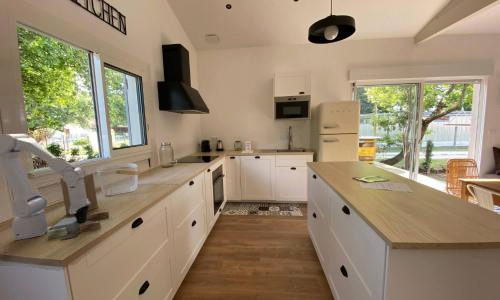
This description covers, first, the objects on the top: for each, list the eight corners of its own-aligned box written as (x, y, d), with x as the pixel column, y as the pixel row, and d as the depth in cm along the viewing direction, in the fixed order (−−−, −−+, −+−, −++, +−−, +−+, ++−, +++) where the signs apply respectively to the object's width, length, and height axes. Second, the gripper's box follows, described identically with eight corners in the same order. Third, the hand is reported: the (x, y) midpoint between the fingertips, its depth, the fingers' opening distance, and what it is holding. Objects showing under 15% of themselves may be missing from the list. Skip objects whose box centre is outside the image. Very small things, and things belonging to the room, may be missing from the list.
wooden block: (80, 214, 105) (74, 178, 103) (65, 214, 107) (59, 178, 105) (98, 207, 115) (93, 173, 113) (84, 206, 117) (79, 173, 115)
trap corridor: (41, 244, 78) (40, 237, 78) (69, 220, 99) (68, 215, 98) (96, 233, 85) (95, 226, 84) (111, 213, 105) (110, 207, 105)
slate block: (54, 235, 85) (52, 226, 85) (64, 227, 93) (62, 219, 92) (74, 231, 88) (73, 223, 87) (82, 223, 95) (81, 215, 95)
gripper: (81, 198, 85) (86, 228, 86) (94, 188, 98) (98, 214, 100) (60, 201, 82) (66, 232, 84) (76, 191, 96) (81, 217, 97)
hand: (82, 223), depth 92 cm, fingers closed
